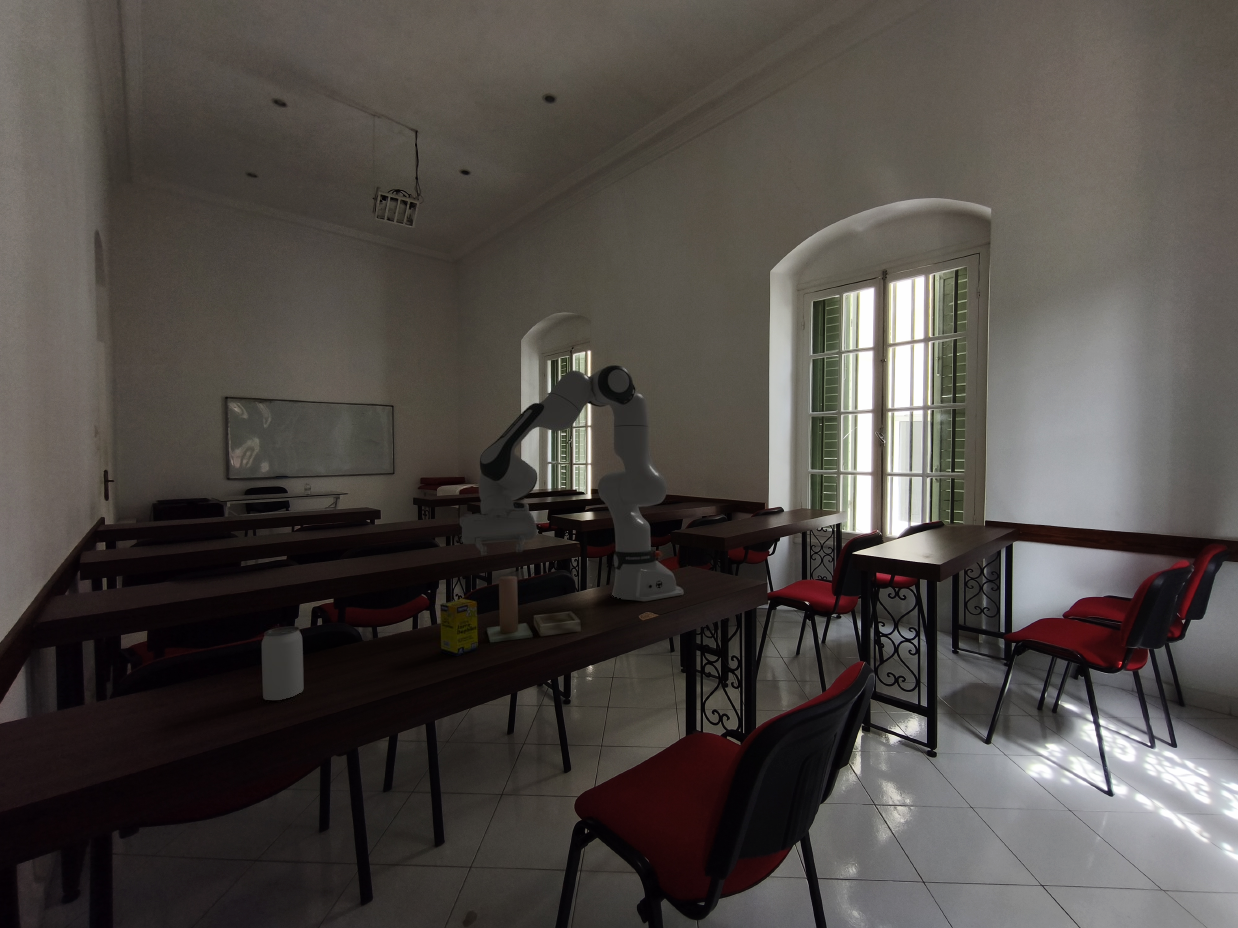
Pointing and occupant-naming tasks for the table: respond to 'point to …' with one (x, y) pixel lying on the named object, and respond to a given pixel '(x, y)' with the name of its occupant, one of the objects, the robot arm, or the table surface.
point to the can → (282, 663)
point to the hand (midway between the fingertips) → (502, 552)
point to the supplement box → (459, 627)
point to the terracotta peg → (508, 604)
